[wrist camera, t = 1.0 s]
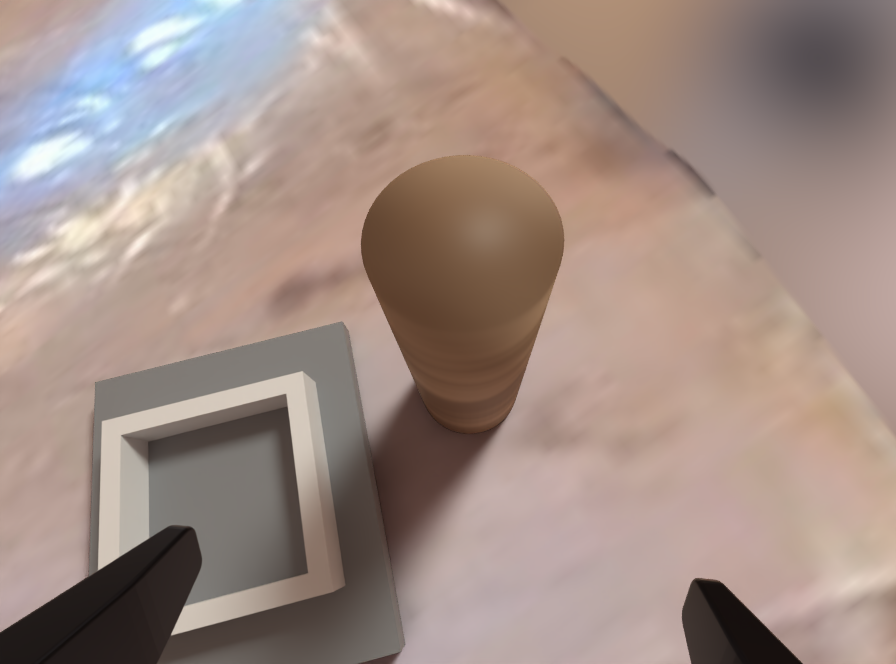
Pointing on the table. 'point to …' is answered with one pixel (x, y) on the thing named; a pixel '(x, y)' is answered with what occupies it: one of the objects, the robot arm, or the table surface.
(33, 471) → the table surface
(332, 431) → the grey framed base plate
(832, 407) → the table surface
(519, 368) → the walnut post
